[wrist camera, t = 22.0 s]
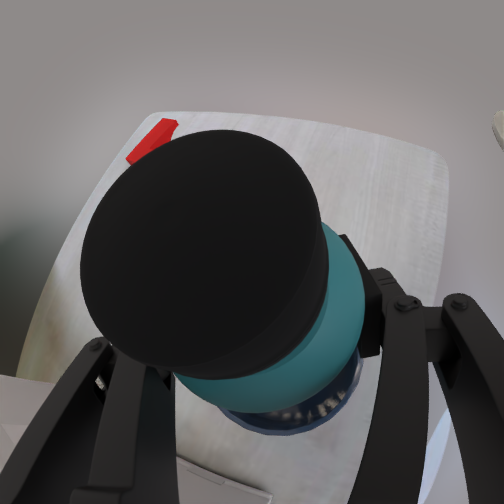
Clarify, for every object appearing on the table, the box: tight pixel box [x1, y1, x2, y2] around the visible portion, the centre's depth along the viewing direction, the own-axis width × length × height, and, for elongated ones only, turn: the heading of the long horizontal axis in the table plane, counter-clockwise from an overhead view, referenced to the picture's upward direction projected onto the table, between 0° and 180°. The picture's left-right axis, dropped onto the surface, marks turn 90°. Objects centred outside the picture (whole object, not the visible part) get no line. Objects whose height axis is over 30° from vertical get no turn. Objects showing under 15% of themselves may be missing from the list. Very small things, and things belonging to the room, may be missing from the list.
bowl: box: [217, 345, 363, 436], centre depth 28 cm, size 16×16×6 cm
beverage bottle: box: [80, 130, 365, 413], centre depth 12 cm, size 6×7×20 cm
